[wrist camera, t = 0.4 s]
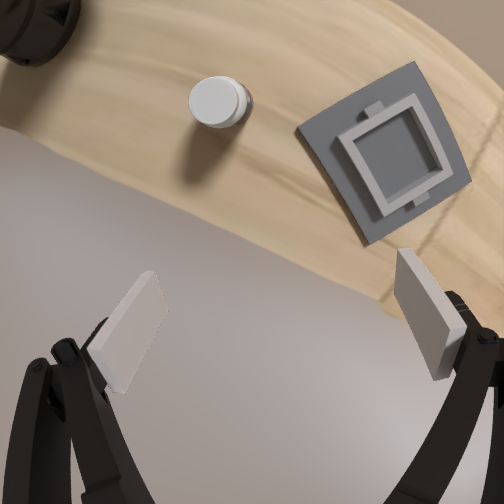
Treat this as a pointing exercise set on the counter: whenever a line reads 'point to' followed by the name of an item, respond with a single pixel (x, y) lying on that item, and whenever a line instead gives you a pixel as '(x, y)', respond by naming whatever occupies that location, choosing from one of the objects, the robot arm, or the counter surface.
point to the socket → (388, 151)
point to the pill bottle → (220, 102)
